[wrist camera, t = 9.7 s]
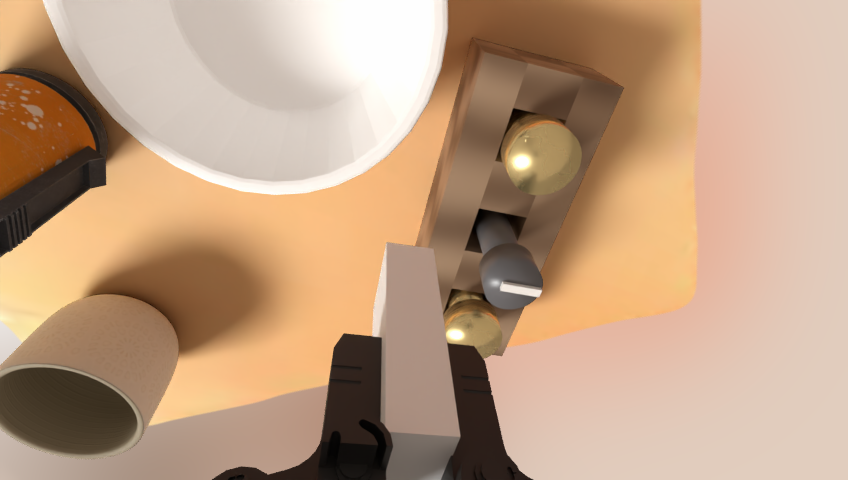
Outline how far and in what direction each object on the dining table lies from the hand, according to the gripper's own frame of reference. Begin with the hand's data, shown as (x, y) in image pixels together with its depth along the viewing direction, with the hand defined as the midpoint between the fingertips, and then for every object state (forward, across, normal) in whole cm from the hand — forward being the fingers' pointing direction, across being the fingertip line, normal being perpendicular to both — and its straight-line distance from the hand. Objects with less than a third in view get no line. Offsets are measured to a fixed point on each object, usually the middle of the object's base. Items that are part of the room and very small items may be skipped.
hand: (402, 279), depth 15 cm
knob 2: (+25, +10, -1) cm, 27 cm away
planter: (+25, -23, -30) cm, 46 cm away
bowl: (+26, -9, +4) cm, 28 cm away
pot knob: (+22, +10, -9) cm, 25 cm away
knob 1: (+24, +10, -17) cm, 31 cm away
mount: (+25, +10, -9) cm, 28 cm away
